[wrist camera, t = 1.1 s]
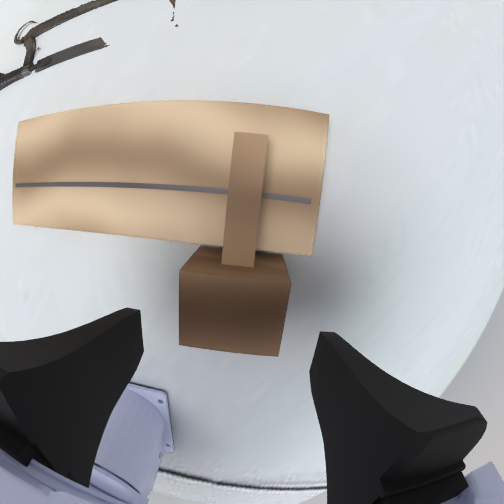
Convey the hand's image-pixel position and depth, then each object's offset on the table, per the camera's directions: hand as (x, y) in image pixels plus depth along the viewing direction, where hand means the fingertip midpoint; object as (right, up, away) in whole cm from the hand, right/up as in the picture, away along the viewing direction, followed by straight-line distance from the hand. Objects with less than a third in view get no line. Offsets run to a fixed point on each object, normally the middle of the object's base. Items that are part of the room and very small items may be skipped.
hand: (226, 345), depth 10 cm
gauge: (+1, +5, +6) cm, 8 cm away
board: (-6, +9, +5) cm, 12 cm away
